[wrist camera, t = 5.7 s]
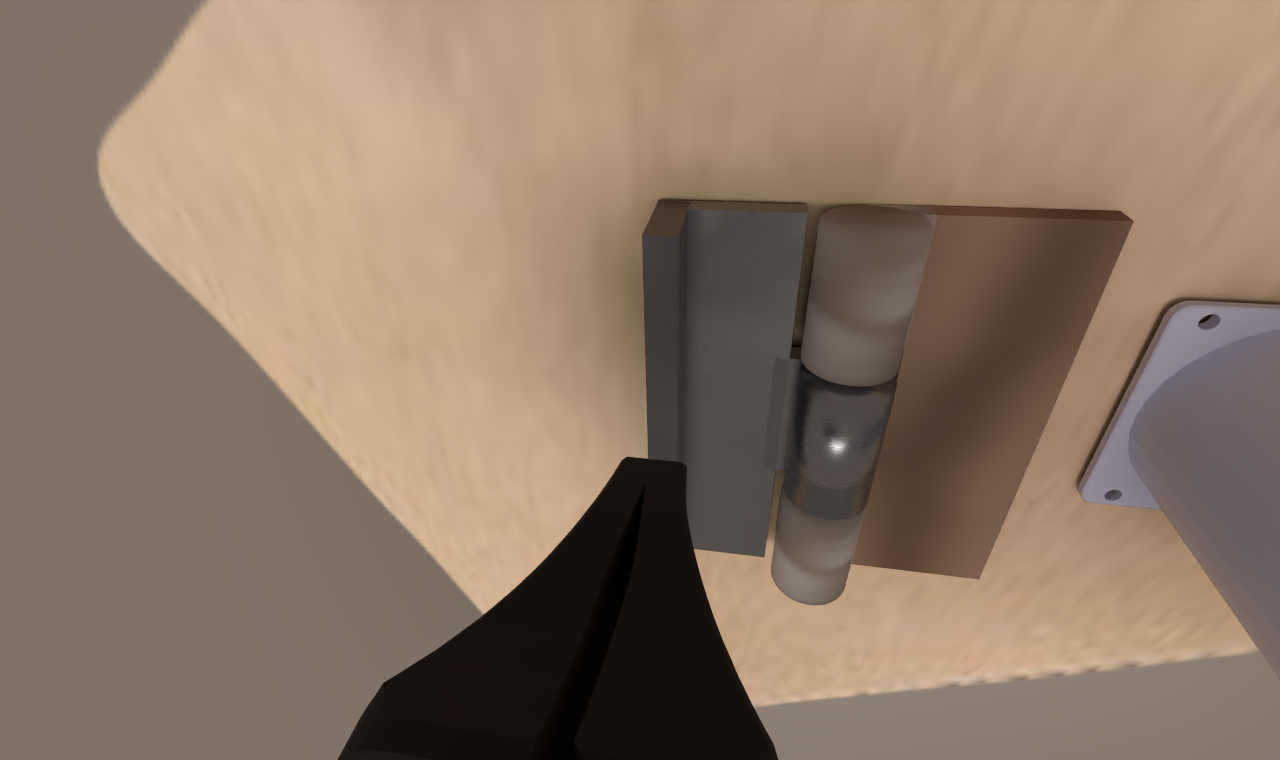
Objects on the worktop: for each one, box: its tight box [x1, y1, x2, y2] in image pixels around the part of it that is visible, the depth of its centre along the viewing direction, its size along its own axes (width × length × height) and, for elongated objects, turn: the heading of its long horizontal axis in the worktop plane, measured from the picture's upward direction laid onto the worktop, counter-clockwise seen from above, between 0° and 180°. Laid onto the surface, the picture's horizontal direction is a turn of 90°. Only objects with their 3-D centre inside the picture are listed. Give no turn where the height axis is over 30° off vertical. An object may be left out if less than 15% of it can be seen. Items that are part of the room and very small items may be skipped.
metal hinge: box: [642, 200, 897, 557], centre depth 22 cm, size 8×15×3 cm, turn 1°
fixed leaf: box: [771, 204, 1134, 605], centre depth 21 cm, size 8×15×3 cm, turn 1°
